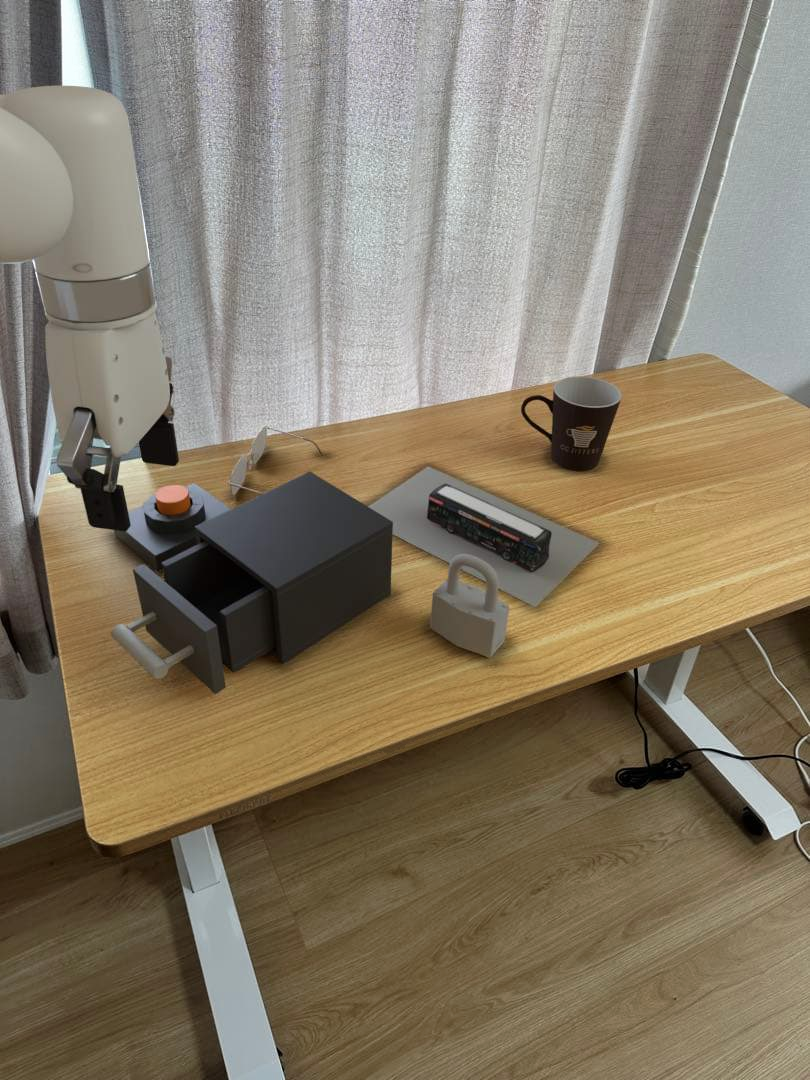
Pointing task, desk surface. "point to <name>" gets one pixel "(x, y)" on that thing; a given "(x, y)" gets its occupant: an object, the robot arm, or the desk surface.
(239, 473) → the eyeglasses
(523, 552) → the grey desk mat
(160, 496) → the button
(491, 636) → the padlock
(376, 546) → the dark grey cabinet
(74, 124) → the robot arm
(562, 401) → the coffee mug
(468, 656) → the desk surface
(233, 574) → the drawer
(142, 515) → the control block
